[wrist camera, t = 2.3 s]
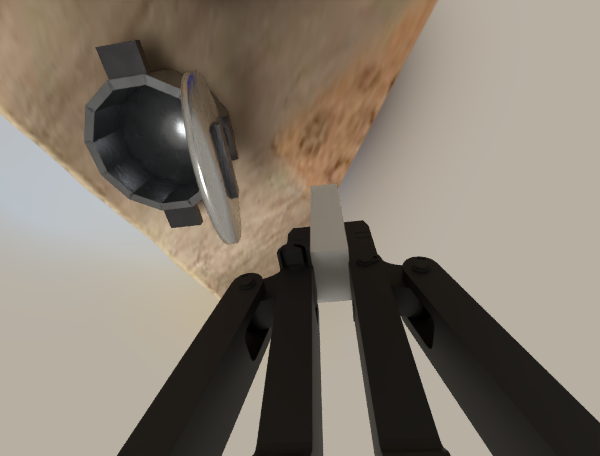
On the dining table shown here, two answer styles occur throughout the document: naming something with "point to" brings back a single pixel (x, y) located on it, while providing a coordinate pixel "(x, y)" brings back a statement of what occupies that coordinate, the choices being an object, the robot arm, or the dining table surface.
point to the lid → (210, 157)
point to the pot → (145, 134)
